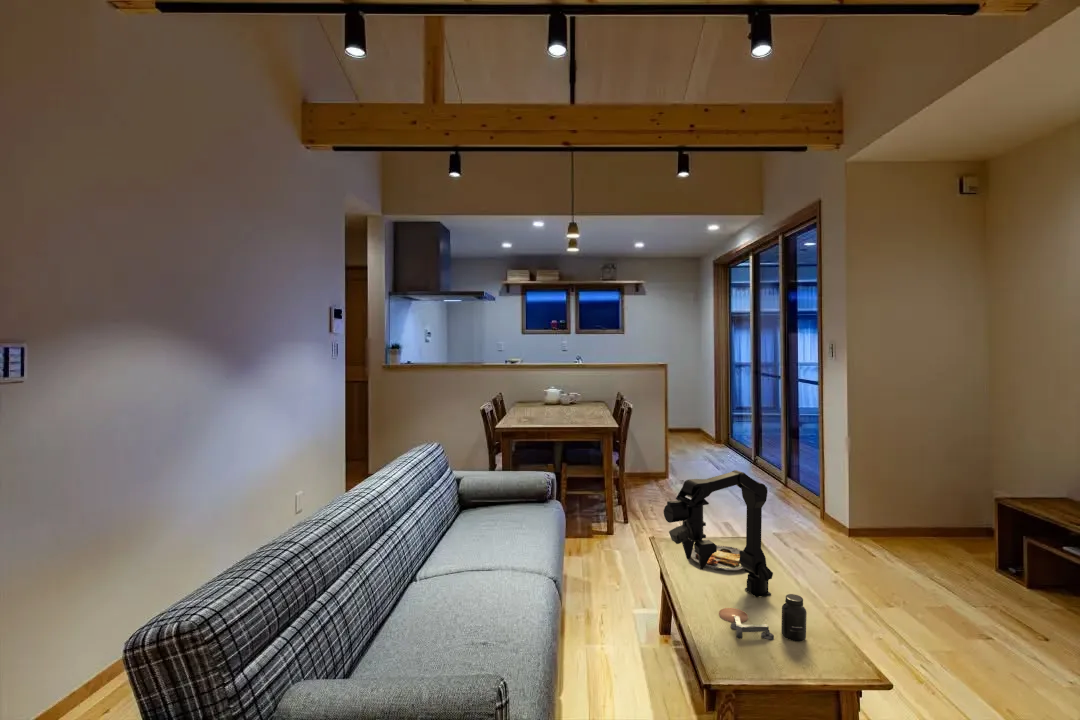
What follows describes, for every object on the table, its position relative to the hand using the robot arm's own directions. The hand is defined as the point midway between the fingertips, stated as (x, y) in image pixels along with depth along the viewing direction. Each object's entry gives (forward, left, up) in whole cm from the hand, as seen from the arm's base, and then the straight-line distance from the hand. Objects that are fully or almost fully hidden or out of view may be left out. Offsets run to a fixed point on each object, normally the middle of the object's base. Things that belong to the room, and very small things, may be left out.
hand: (694, 564), depth 187 cm
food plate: (-30, -31, -15) cm, 46 cm away
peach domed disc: (-8, +10, -14) cm, 19 cm away
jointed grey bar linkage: (-7, +20, -14) cm, 25 cm away
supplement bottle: (-18, +26, -15) cm, 35 cm away
